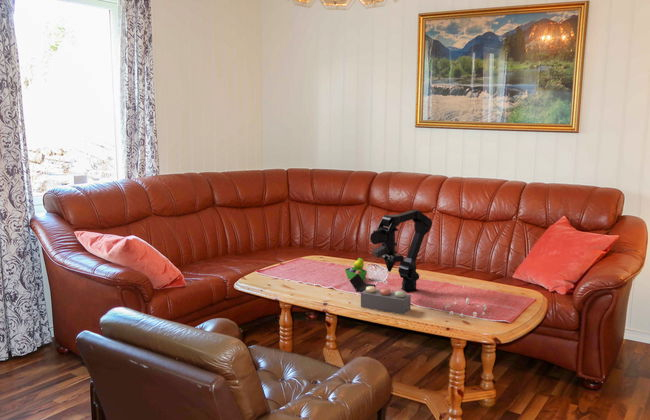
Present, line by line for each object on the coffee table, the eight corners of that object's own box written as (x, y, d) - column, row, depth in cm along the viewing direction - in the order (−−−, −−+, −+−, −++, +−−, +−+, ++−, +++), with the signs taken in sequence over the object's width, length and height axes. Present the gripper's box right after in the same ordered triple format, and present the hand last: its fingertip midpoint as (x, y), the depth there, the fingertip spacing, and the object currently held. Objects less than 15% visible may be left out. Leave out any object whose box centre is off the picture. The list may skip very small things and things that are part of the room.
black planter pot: (372, 290, 293) (359, 272, 295) (360, 298, 295) (347, 281, 296) (376, 285, 306) (364, 268, 307) (364, 294, 308) (352, 277, 309)
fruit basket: (344, 278, 319) (343, 258, 317) (356, 274, 324) (356, 255, 322) (357, 283, 310) (356, 262, 308) (369, 279, 315) (369, 259, 313)
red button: (387, 296, 275) (387, 287, 274) (392, 299, 270) (392, 290, 270) (378, 297, 273) (378, 289, 272) (383, 300, 269) (383, 292, 268)
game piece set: (454, 300, 281) (454, 293, 280) (494, 309, 269) (494, 301, 268) (435, 312, 266) (435, 305, 265) (476, 322, 254) (476, 314, 253)
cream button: (373, 293, 278) (373, 285, 278) (377, 296, 274) (377, 288, 273) (364, 295, 277) (364, 287, 276) (368, 298, 272) (368, 290, 272)
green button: (402, 298, 271) (402, 290, 270) (407, 301, 267) (407, 293, 266) (393, 300, 269) (393, 291, 268) (398, 303, 265) (398, 294, 264)
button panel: (360, 306, 275) (360, 292, 273) (368, 301, 281) (368, 288, 280) (403, 314, 264) (403, 300, 262) (410, 309, 270) (410, 294, 269)
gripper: (366, 238, 288) (366, 268, 291) (384, 247, 271) (384, 278, 274) (385, 236, 292) (385, 265, 295) (404, 244, 275) (404, 275, 278)
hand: (389, 271), depth 286 cm, fingers closed
